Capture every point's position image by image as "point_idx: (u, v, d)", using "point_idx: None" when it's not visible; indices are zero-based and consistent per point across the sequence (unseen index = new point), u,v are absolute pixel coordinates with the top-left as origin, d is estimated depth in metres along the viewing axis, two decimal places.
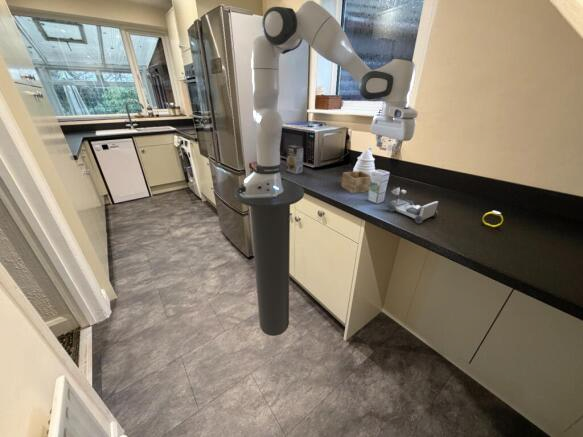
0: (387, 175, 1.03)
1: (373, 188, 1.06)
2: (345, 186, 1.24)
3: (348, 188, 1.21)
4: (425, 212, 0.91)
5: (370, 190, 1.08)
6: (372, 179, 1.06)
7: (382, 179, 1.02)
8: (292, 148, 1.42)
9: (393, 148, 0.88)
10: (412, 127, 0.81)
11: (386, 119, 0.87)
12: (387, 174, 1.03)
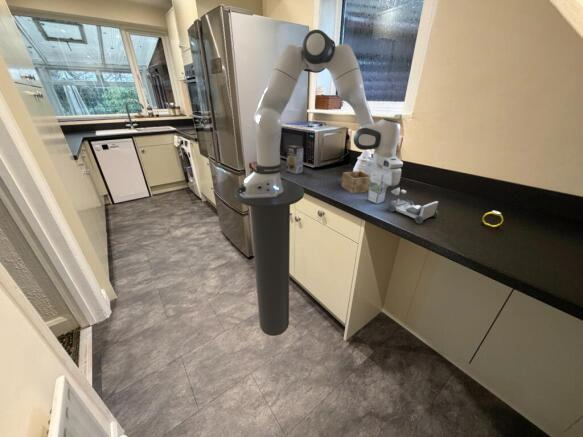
0: None
1: (373, 188, 1.06)
2: (345, 186, 1.24)
3: (348, 188, 1.21)
4: (425, 212, 0.91)
5: (370, 190, 1.08)
6: (372, 179, 1.06)
7: None
8: (292, 148, 1.41)
9: (382, 189, 1.04)
10: (398, 175, 0.96)
11: (377, 166, 1.02)
12: None
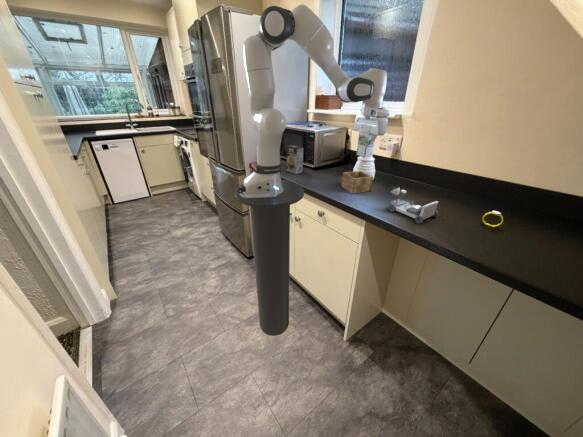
0: None
1: (362, 142, 1.09)
2: (345, 186, 1.24)
3: (348, 188, 1.21)
4: (425, 212, 0.91)
5: (359, 144, 1.11)
6: (361, 132, 1.08)
7: None
8: (292, 148, 1.42)
9: (370, 141, 1.07)
10: (385, 124, 0.99)
11: (365, 117, 1.04)
12: None
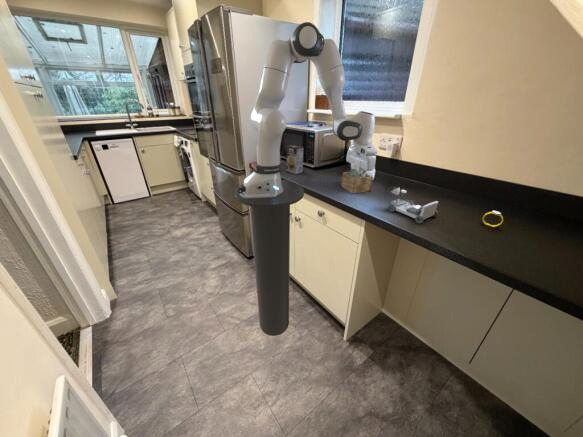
0: None
1: (353, 174, 1.20)
2: (345, 186, 1.24)
3: (348, 188, 1.21)
4: (425, 212, 0.91)
5: (351, 176, 1.22)
6: (352, 166, 1.19)
7: None
8: (292, 148, 1.42)
9: (360, 174, 1.17)
10: (373, 161, 1.09)
11: (355, 153, 1.15)
12: None
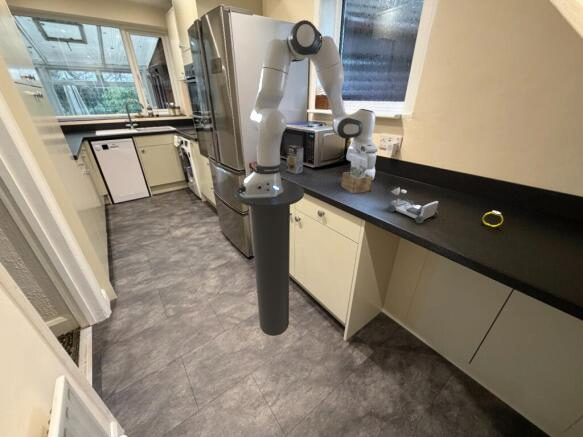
0: None
1: (353, 172, 1.19)
2: (345, 186, 1.24)
3: (348, 188, 1.21)
4: (426, 212, 0.91)
5: (351, 174, 1.21)
6: (352, 164, 1.18)
7: None
8: (292, 148, 1.42)
9: (360, 172, 1.17)
10: (374, 159, 1.09)
11: (356, 151, 1.14)
12: None
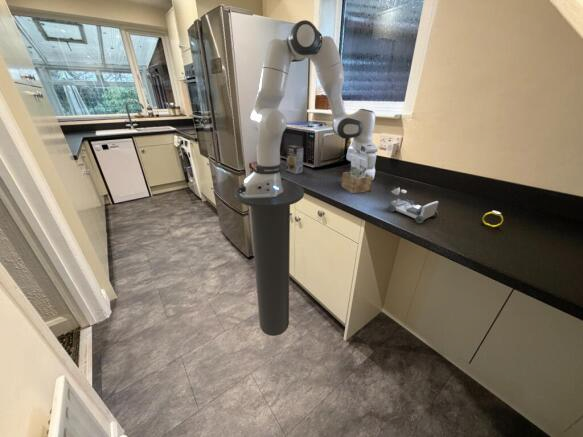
0: None
1: (354, 172, 1.19)
2: (345, 186, 1.24)
3: (348, 188, 1.21)
4: (426, 212, 0.91)
5: (351, 174, 1.21)
6: (352, 164, 1.18)
7: None
8: (292, 148, 1.42)
9: (360, 172, 1.17)
10: (374, 159, 1.09)
11: (356, 151, 1.14)
12: None
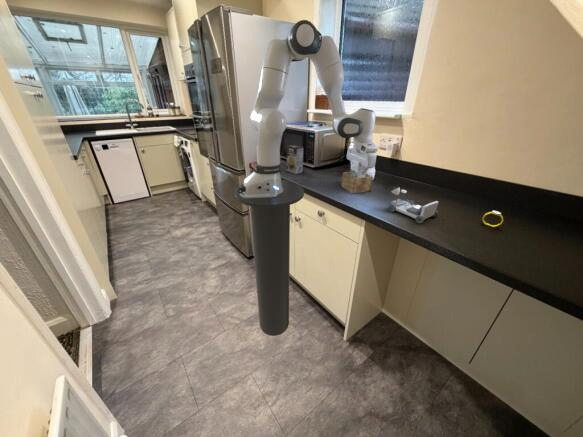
0: None
1: (353, 175, 1.20)
2: (345, 186, 1.24)
3: (348, 188, 1.21)
4: (426, 212, 0.91)
5: None
6: (351, 167, 1.20)
7: (359, 167, 1.16)
8: (292, 148, 1.41)
9: (362, 172, 1.16)
10: (374, 159, 1.09)
11: (356, 151, 1.14)
12: None
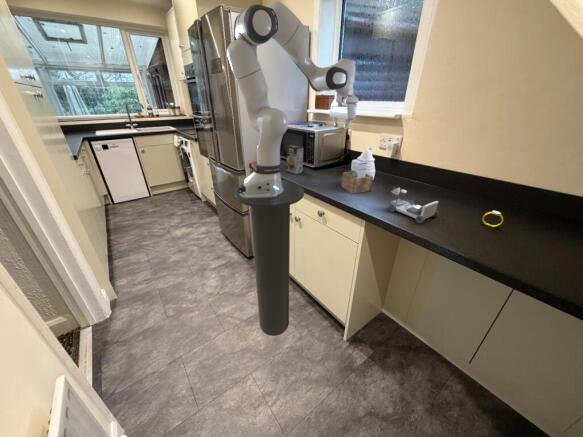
0: (365, 164, 1.17)
1: (353, 176, 1.20)
2: (345, 186, 1.24)
3: (348, 188, 1.21)
4: (426, 212, 0.91)
5: None
6: (352, 167, 1.19)
7: (359, 167, 1.16)
8: (292, 148, 1.42)
9: (343, 127, 1.17)
10: (354, 110, 1.09)
11: (337, 104, 1.15)
12: (365, 163, 1.16)
